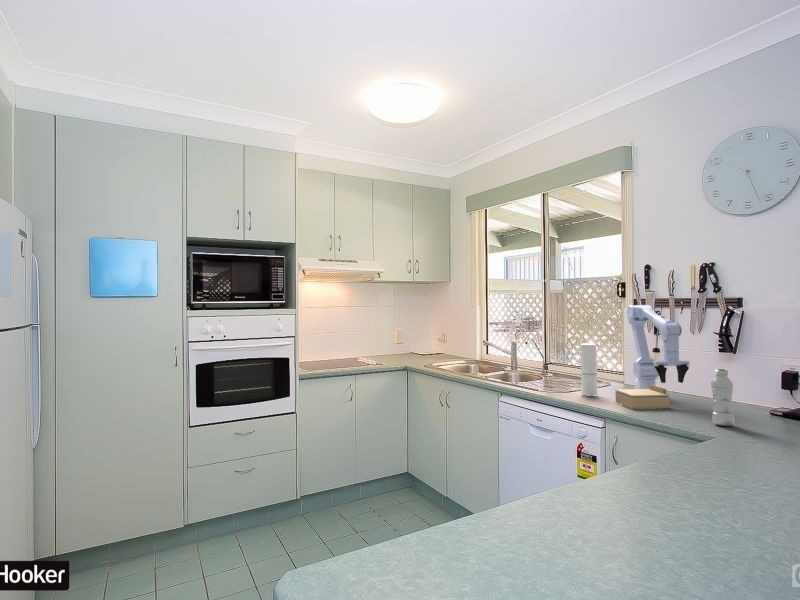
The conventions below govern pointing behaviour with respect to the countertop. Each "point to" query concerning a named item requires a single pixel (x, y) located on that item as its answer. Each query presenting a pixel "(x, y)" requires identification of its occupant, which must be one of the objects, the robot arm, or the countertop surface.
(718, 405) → the plastic bottle
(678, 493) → the countertop surface
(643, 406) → the mailer box
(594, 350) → the cylindrical container
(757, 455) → the countertop surface
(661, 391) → the lid
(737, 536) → the countertop surface
